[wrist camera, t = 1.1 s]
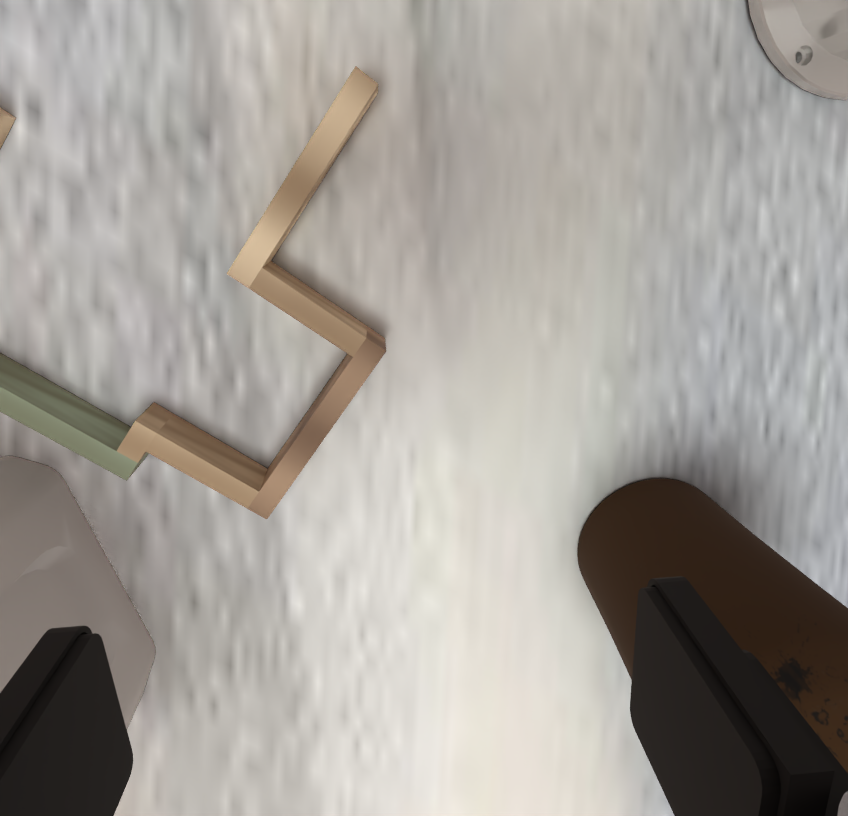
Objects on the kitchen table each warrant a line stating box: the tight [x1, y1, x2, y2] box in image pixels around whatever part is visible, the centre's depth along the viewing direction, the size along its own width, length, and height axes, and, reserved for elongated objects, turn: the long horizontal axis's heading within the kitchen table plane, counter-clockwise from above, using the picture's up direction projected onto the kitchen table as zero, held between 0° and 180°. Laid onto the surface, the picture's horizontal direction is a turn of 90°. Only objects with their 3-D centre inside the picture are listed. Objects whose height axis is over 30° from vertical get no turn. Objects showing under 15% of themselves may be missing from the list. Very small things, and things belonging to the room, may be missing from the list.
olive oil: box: [578, 478, 848, 773], centre depth 29 cm, size 11×11×25 cm
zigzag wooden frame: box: [0, 66, 386, 519], centre depth 31 cm, size 23×27×3 cm
